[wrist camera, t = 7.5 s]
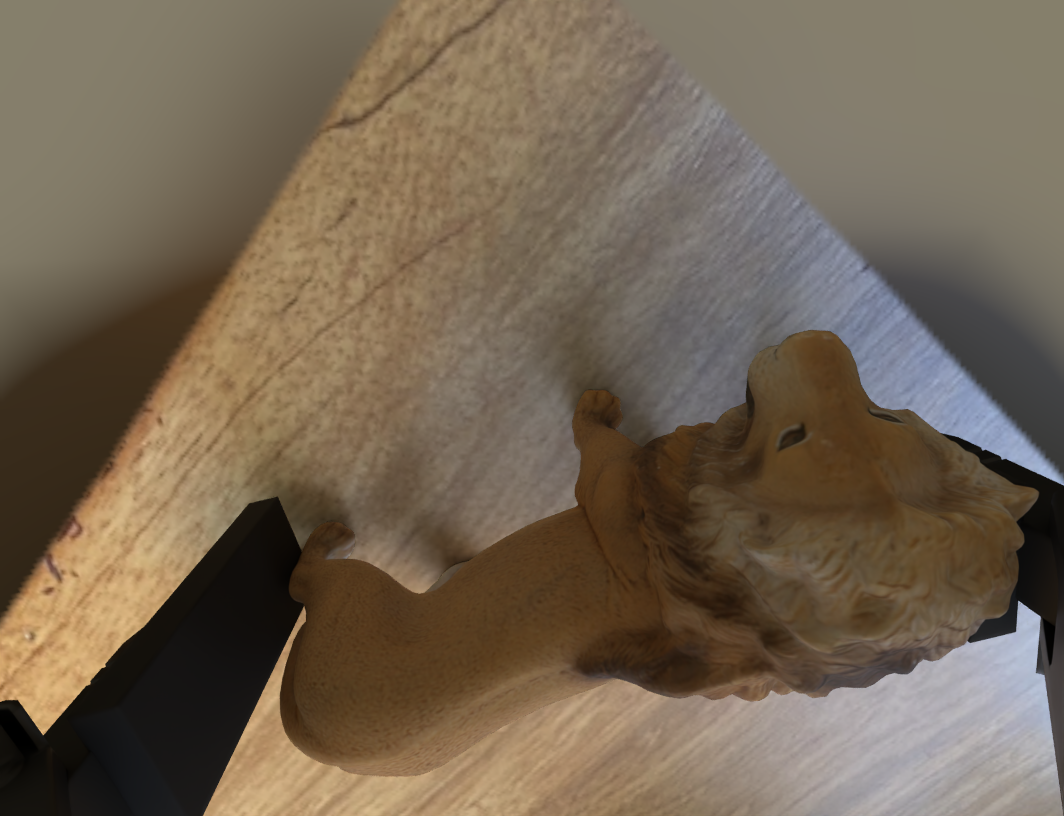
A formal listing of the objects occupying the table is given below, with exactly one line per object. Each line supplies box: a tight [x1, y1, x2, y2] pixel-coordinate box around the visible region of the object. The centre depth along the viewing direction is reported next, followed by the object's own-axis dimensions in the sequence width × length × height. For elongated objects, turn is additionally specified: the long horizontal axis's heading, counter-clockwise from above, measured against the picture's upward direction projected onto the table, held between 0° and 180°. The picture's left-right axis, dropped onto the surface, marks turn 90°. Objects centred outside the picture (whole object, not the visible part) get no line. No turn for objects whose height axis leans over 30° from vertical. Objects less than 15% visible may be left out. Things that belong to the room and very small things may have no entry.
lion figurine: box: [280, 330, 1039, 776], centre depth 11 cm, size 15×5×9 cm, turn 125°
